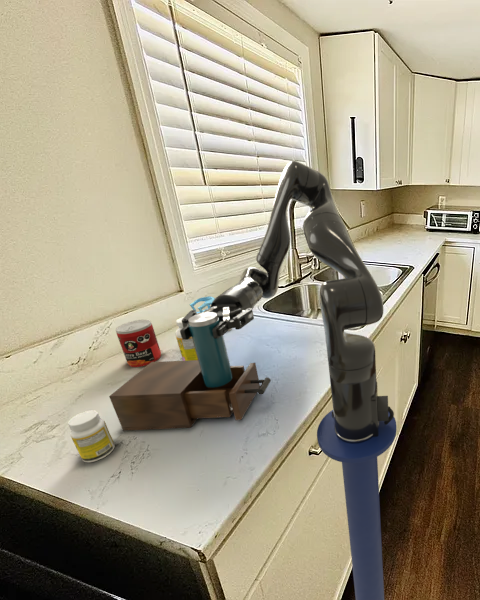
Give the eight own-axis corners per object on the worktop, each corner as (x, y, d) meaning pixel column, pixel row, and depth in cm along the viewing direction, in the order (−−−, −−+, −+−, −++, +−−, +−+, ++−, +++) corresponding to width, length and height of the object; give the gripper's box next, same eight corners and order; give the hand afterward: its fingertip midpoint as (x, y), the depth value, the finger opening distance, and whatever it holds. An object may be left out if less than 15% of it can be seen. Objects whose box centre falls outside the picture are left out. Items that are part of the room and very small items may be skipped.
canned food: (122, 369, 88) (108, 333, 84) (137, 354, 95) (125, 320, 91) (153, 366, 89) (141, 330, 86) (166, 351, 97) (156, 318, 93)
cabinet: (219, 390, 79) (211, 359, 76) (190, 427, 67) (180, 393, 64) (161, 392, 78) (151, 361, 75) (122, 430, 67) (108, 396, 64)
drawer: (278, 386, 79) (273, 362, 76) (261, 419, 68) (256, 392, 66) (207, 389, 78) (201, 364, 76) (179, 422, 67) (171, 395, 65)
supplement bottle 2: (187, 356, 94) (175, 315, 90) (212, 352, 96) (202, 312, 91) (180, 368, 88) (168, 325, 84) (208, 364, 90) (197, 322, 85)
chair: (192, 334, 107) (182, 300, 103) (216, 324, 114) (209, 292, 110) (204, 340, 103) (195, 305, 99) (229, 330, 110) (221, 297, 106)
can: (236, 372, 73) (222, 311, 68) (226, 387, 68) (209, 322, 63) (212, 373, 73) (196, 312, 68) (199, 388, 68) (181, 323, 62)
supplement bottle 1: (89, 447, 63) (73, 412, 60) (119, 440, 64) (105, 405, 61) (77, 466, 58) (59, 430, 55) (109, 458, 60) (93, 422, 57)
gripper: (202, 289, 78) (156, 318, 62) (262, 287, 78) (232, 316, 63) (209, 318, 80) (166, 353, 65) (268, 316, 81) (240, 350, 65)
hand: (199, 334), depth 64 cm, fingers closed on can, 5 cm apart
